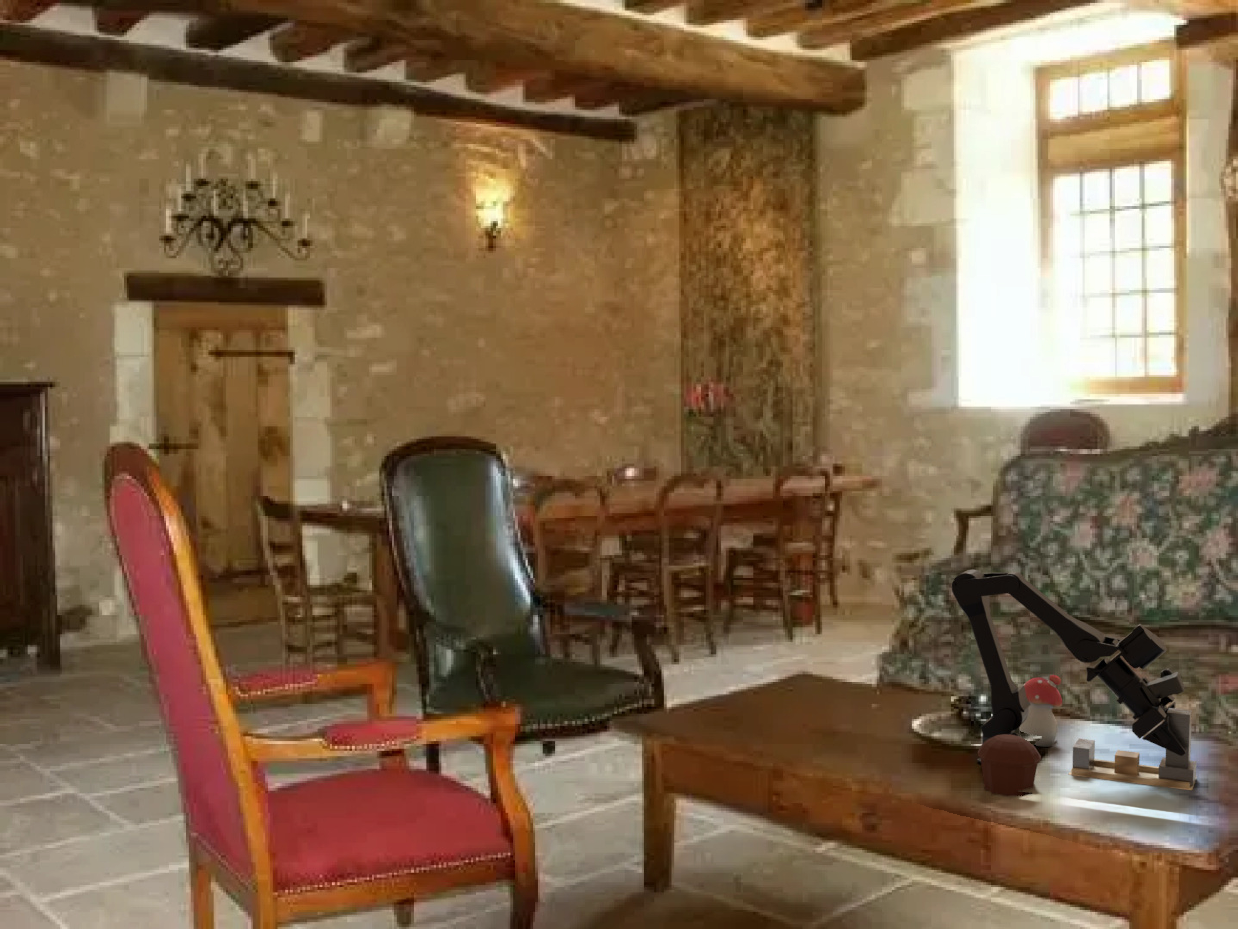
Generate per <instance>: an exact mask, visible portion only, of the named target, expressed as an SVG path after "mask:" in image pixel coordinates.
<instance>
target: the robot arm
mask: <svg viewBox="0 0 1238 929" xmlns="http://www.w3.org/2000/svg"><path fill="white" fill-rule="evenodd" d="M950 587H951V592H952V594H953V596H954V598H955V601H956V602H957V604H958V606H959V607H960V609H961V610H962V611H963V613H964V614H965V616H966V617H967V619H968V620H969V624H970V627H971V629H972V633H973V636H974V638H975V639H974V640H975V642H976V645H977V649H978V651H979V655H980V658H981V661H982V664H983V667H984V670H985V674H986V676H987V679H988V682H989V686H990V705H991V713H992V716H990V717H989V719H987V720H986V722H984V723H983V725H981V727H980V729H981V732H982V744H983V743H984V742H985V741H986V740H988V739H990V738H992V737H994V736H996V735H1003V734H1009V735H1015V736H1019V734H1018V733H1016V731H1017V729H1019V727H1020V726H1021V724H1022V723H1023V722H1024V721H1025V720H1026V718H1027V717H1028V714H1029V709H1028V707H1029V706H1030V705H1031V704H1030V702H1029V701H1028V699H1027V697H1026V692H1025V687H1024V686H1023V685H1022V686H1019V687H1018V686H1017V685H1016V684H1015V683H1014V680H1012V677H1011V674H1010V671H1009V667H1008V664H1007V661H1006V658H1005V655H1004V652H1003V650H1002V645H1001V643H1000V639H999V636H998V634H997V631H996V627H995V624H994V621H993V619H992V615H991V609H990V606H991V605H990V596H994V595H1005V594H1007V595H1010V596H1011V597H1012V598H1014V599H1015V600H1016V601H1017V602H1018V603H1020V605H1022V606H1023V607H1024V608H1026V609H1027V610H1028V611H1029V612H1030V613H1031V614H1032V615H1034V616H1035V617H1036V618H1038V619H1039V620H1040V621H1041V622H1042V623H1044V624H1045V625H1046V626H1047V627H1049V628H1050V629H1051V630H1052V631H1054V632H1055V634H1056V635H1057V636H1058V637H1059V639H1060V640H1061V642H1062V643H1063V645H1064V646H1065V647H1066V648H1067V650H1068V651H1069V652H1070V653H1071V654H1072V655H1073V657H1074V658H1076V660H1078V661H1079V662H1081V663H1084V664H1087V663H1088V664H1089V663H1094V662H1096V661H1098V660H1099V659H1100V658H1102V659H1101V660H1100V661H1099V662H1097V663H1096V664H1095V665H1090V664H1089V665H1087V667H1086V682H1088V683H1090V682H1092V680H1094V679H1095V678H1099V680H1100V681H1101V682H1102V683H1103V684H1104V685H1105V686H1106V687H1107V688H1108V689H1109V690H1110V692H1112V693H1113V694H1114V695H1115V697H1116V698H1117V699H1116V702H1117V703H1118V704H1119V705H1122V704H1123V705H1124V707H1125V708H1126V709H1127V710H1128V711H1129V712H1130V713H1131V714H1132V719H1133V722H1132V724H1131V732H1132V733H1133V734H1134V735H1135V736H1136V737H1137V738H1138V739H1142V740H1143V741H1147V742H1150V743H1152V744H1153V745H1156V746H1159V747H1161V748H1163V749H1165V750H1166V749H1167V750H1169V751H1171V752H1174V753H1176V754H1178V755H1180V756H1183V755H1184V754H1185V753H1186V752H1185V750H1184V749H1183V747H1182V745H1181V744H1180V743H1179V741H1178V740H1177V738H1176V737H1175V736H1174V734H1173V733H1172V731H1171V730H1170V728H1169V716H1168V717H1167V711H1168V709H1169V708H1175V709H1176V704H1177V702H1176V701H1175V697H1174V696H1173V695H1179V694H1182V693H1184V692H1185V689H1186V686H1185V684H1184V682H1183V680H1182V676H1181V674H1180V672H1178V671H1176V672H1174V671H1173V670H1171V669H1170V668H1164V669H1162V670H1161V672H1160V677H1158V678H1156V679H1154V680H1151V681H1149V679H1147V678H1146V677H1145V676H1141V677H1140V676H1139V674H1137V673H1136V671H1134V669H1138V668H1140V669H1142V670H1145V669H1146V668H1147V667H1148V666H1150V665H1152V663H1153V662H1154V661H1156V660H1158V659H1159V657H1161V656H1162V655H1163V654H1165V653H1166V652H1167V651H1168V648H1167V647H1166V645H1165V644H1164V642H1163V641H1162V640H1161V638H1160V637H1159V636H1157V634H1155V633H1153V632H1152V631H1151V630H1149V629H1148V628H1146V627H1145V626H1144V625H1143V624H1142V623H1139V624H1138V625H1136V627H1134V628H1133V630H1132V631H1131V632H1130V633H1129V634H1127V635H1126V636H1125V637H1123V639H1120V638H1116V637H1115V638H1114V637H1110V636H1106V635H1104V634H1103V633H1102V632H1101V631H1100V630H1099V629H1096V628H1095V627H1093V626H1091V625H1090V624H1088V623H1087V622H1084V621H1081V620H1079V619H1078V618H1075V617H1073V616H1071V615H1070V614H1068V613H1067V612H1066V611H1065V610H1064V609H1062V608H1061V607H1060V606H1059V605H1058V604H1056V603H1055V601H1053V600H1052V599H1050V598H1049V597H1048V596H1047V595H1045V594H1044V593H1043V592H1041V590H1039V589H1038V588H1037V587H1035V585H1033V584H1032V583H1031V582H1029V581H1028V580H1027V579H1026V578H1025V577H1024V575H1022V573H1020V572H1018V571H1010V572H987V573H985V572H982V571H980V570H978V569H967V570H966V571H963V572H961V573H959V574H958V575H957V576H955V577H954V578H953V581H952V583H951V586H950ZM1117 651H1119V652H1118V653H1117V654H1116V655H1114V656H1113V654H1115V653H1116V652H1117ZM1111 656H1113V657H1112V658H1109V657H1111ZM1133 668H1134V669H1133ZM1170 703H1171V704H1170ZM1169 704H1170V705H1169ZM976 762H978V763H980V764H981V759H980V758H977V759H976Z"/></svg>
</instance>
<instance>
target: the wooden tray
mask: <svg viewBox="0 0 1238 929" xmlns="http://www.w3.org/2000/svg"><path fill="white" fill-rule="evenodd" d="M1114 767H1115V760H1114V761H1112V760H1105V759H1099V758H1098V759H1097V758H1094V767H1093V768H1092V770H1087V769H1079V768H1073V767H1071V770H1070V771H1069V773H1068V775H1070V776H1075V777H1077V776H1078V777H1084V778H1085V777H1086V778H1092V779H1098V780H1099V779H1101V780H1108V781H1115V782H1116V781H1117V782H1124V783H1133V784H1139V785H1148V786H1155V787H1164V788H1170V789H1171V788H1172V789H1178V790H1179V789H1180V790H1184V791H1185V790H1186V791H1187V790H1188V791H1193V788H1194V785H1195V783H1196V780H1197V777H1198V776H1197V775H1196V779H1195V782H1194V785H1193V786H1190V782H1183V781H1175V780H1167V779H1159V766H1154V765H1146V764H1139V774H1138V776H1135V775H1127V774H1119V773H1114Z"/></svg>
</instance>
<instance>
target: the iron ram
mask: <svg viewBox="0 0 1238 929" xmlns="http://www.w3.org/2000/svg"><path fill="white" fill-rule="evenodd" d="M1192 714H1193V710H1192V709H1184V708H1176V707H1175V708H1169V709H1168V711H1167V717H1168V716H1169V728H1170V730H1171V731H1172V733H1173V734H1174V736H1175V737H1176V738H1177V740H1178V741H1179V743H1180V744H1181V745H1182V747H1183V749H1184V750H1185V752H1186V753H1185V754H1184V755H1183V756H1180V755H1178V754H1176V753H1174V752H1171V751H1169V750H1167V749H1165V757H1162V758H1161V760H1160V762H1159V765H1158V767H1159V779H1167V780H1175V781H1183V782H1190V786H1193V785H1195V783H1196V780H1197V777H1196V776H1197V760H1196V761H1195V760H1191V755H1192V754H1191V751H1192V750H1191V749H1192V719H1193V718H1192ZM1195 779H1196V780H1195ZM1194 782H1195V783H1194ZM1193 787H1194V786H1193Z"/></svg>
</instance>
